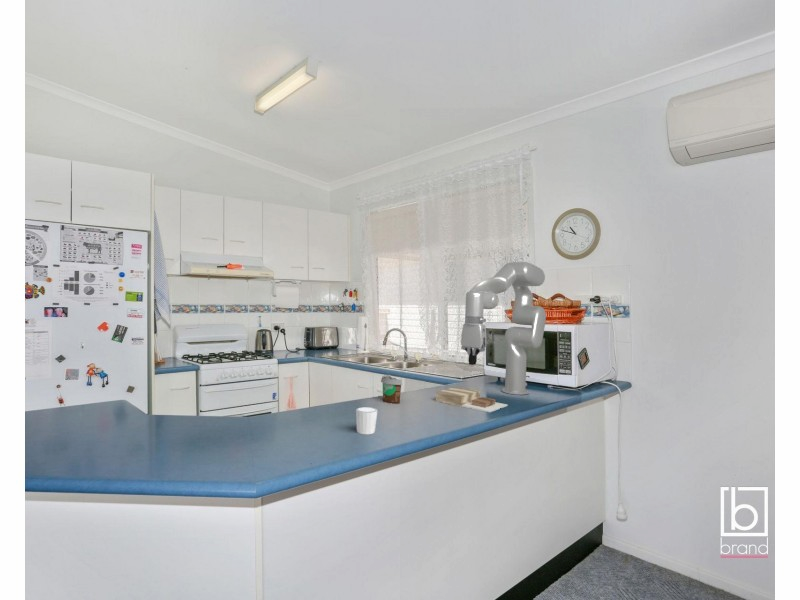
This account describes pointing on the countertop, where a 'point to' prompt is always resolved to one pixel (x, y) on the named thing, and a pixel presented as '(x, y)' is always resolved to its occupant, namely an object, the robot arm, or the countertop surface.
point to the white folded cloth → (487, 409)
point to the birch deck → (457, 396)
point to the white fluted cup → (366, 420)
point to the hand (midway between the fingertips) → (472, 364)
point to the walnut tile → (483, 402)
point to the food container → (391, 389)
